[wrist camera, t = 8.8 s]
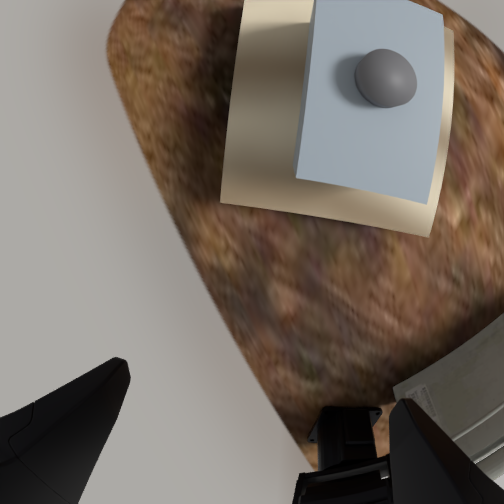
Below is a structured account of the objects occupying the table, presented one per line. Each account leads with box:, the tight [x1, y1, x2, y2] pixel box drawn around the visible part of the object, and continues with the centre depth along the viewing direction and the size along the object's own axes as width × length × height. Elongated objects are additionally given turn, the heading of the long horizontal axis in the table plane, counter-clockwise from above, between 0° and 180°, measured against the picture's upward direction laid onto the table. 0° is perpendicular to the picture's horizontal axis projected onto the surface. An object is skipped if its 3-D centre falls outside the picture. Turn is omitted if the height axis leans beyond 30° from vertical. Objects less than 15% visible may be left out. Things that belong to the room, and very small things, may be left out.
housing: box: [293, 0, 444, 205], centre depth 10 cm, size 8×5×6 cm, turn 173°
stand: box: [220, 0, 454, 237], centre depth 14 cm, size 13×12×3 cm
